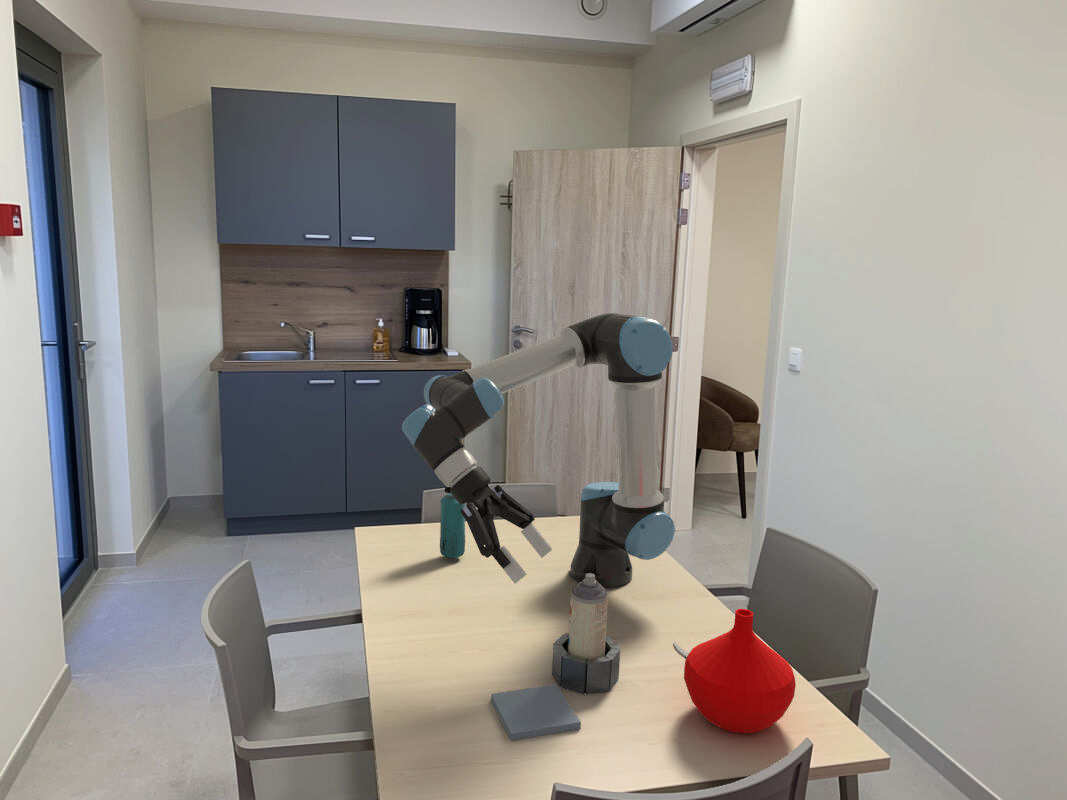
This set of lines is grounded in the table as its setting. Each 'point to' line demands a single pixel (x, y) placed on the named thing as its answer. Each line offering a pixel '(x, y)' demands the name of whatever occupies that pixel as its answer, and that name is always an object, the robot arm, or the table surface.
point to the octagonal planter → (585, 668)
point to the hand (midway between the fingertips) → (534, 566)
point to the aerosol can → (588, 619)
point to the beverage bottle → (451, 527)
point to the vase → (739, 679)
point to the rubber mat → (535, 712)
